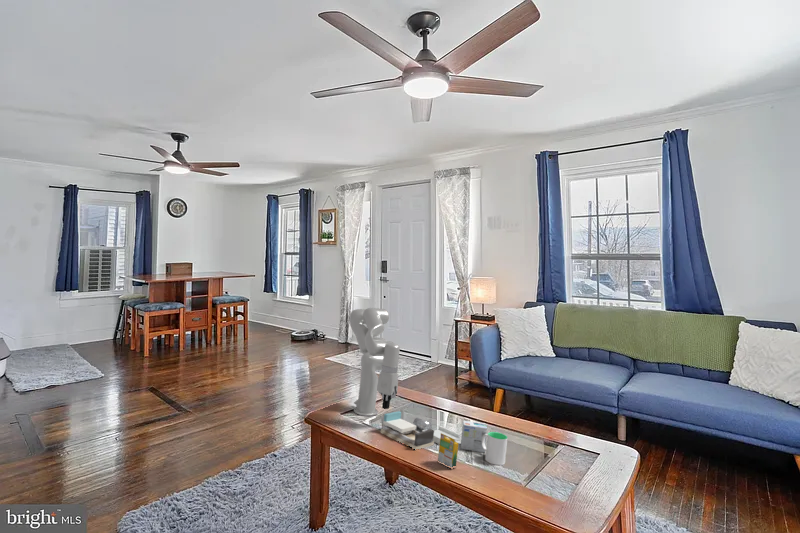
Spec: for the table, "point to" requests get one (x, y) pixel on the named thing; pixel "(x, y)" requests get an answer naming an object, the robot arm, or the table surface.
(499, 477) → the table surface
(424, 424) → the loose roller
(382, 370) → the robot arm
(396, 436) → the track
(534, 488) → the table surface
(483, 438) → the mug
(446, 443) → the crayon box
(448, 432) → the roller rack
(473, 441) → the light bulb box
